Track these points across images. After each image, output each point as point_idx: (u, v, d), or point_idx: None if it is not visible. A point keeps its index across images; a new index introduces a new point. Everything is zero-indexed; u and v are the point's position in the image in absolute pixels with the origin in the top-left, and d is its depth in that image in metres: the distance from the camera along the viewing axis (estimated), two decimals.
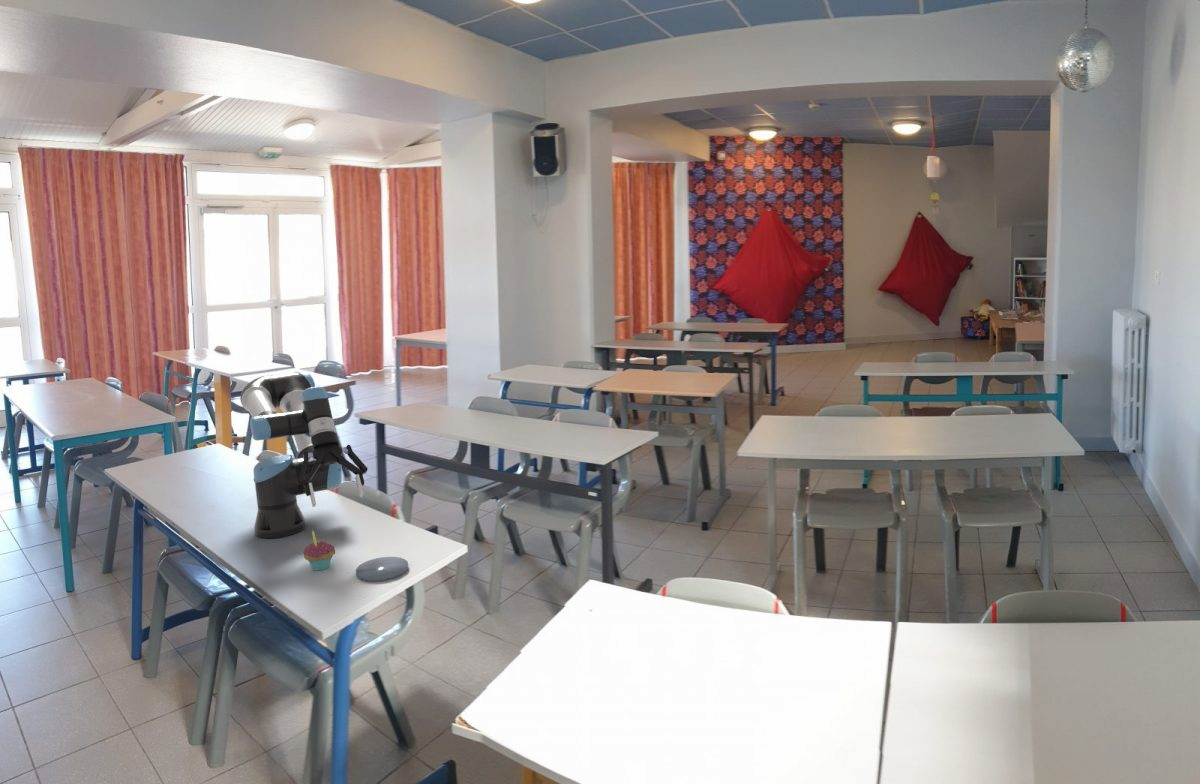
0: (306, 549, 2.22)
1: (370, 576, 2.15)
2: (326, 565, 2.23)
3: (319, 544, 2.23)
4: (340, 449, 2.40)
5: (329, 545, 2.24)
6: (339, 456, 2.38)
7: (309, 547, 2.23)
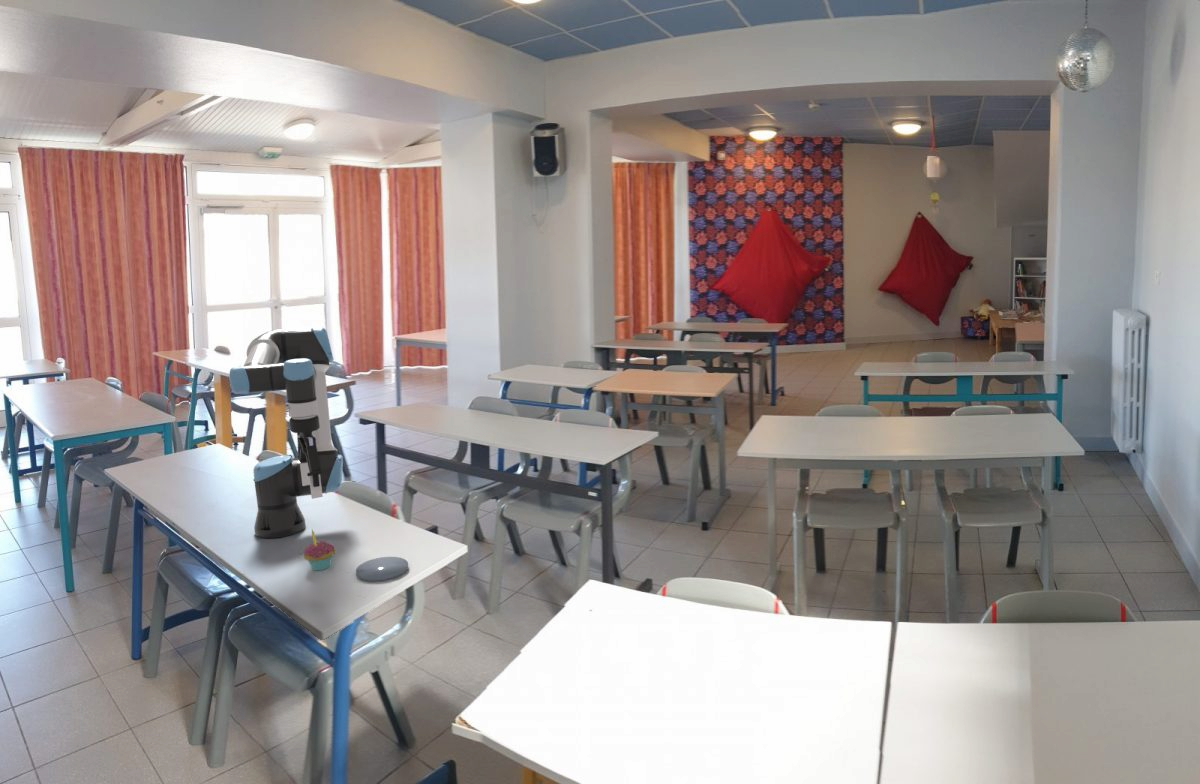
0: (306, 549, 2.22)
1: (370, 576, 2.15)
2: (326, 565, 2.23)
3: (319, 544, 2.23)
4: (304, 440, 2.14)
5: (329, 545, 2.24)
6: (302, 448, 2.15)
7: (309, 547, 2.23)
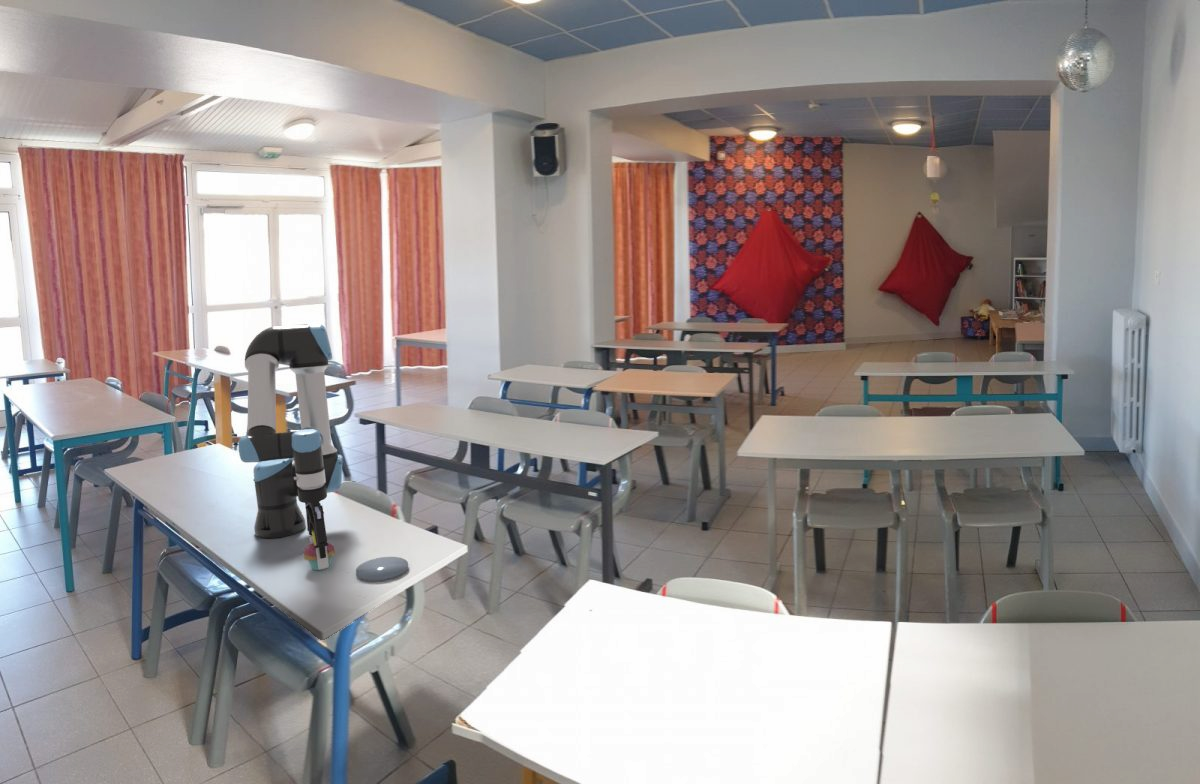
0: (306, 549, 2.23)
1: (370, 576, 2.15)
2: None
3: None
4: (312, 510, 2.18)
5: (329, 545, 2.24)
6: (310, 518, 2.19)
7: (309, 547, 2.23)
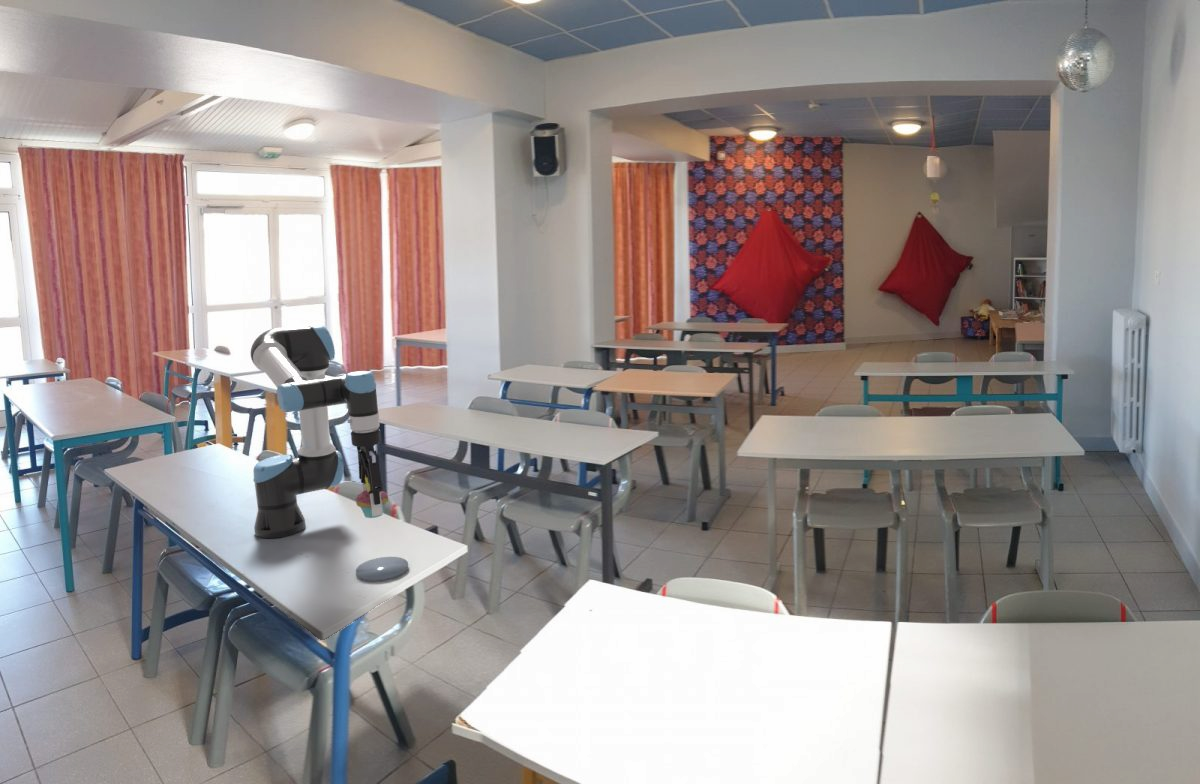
0: (359, 496, 2.15)
1: (370, 576, 2.15)
2: None
3: None
4: (366, 455, 2.10)
5: (382, 492, 2.17)
6: (363, 463, 2.12)
7: (362, 494, 2.15)
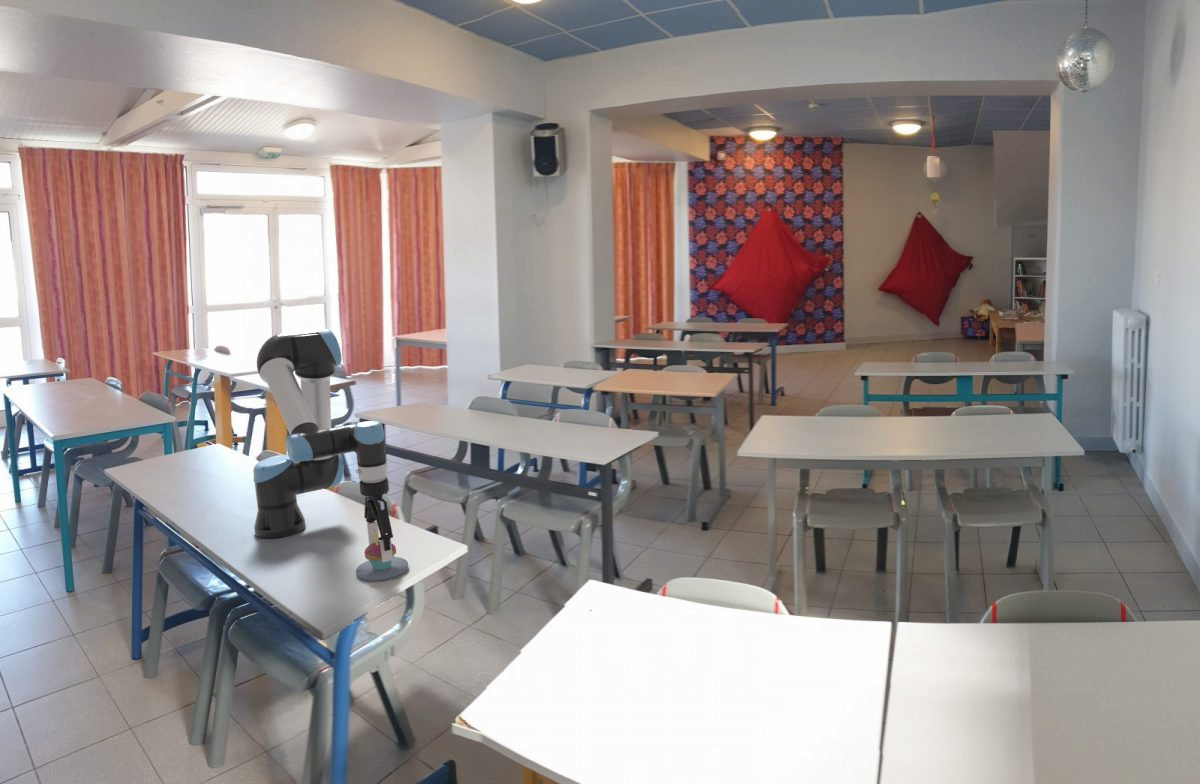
0: (367, 549, 2.18)
1: (370, 576, 2.15)
2: (387, 565, 2.19)
3: None
4: (375, 503, 2.13)
5: None
6: (372, 512, 2.14)
7: (370, 547, 2.18)
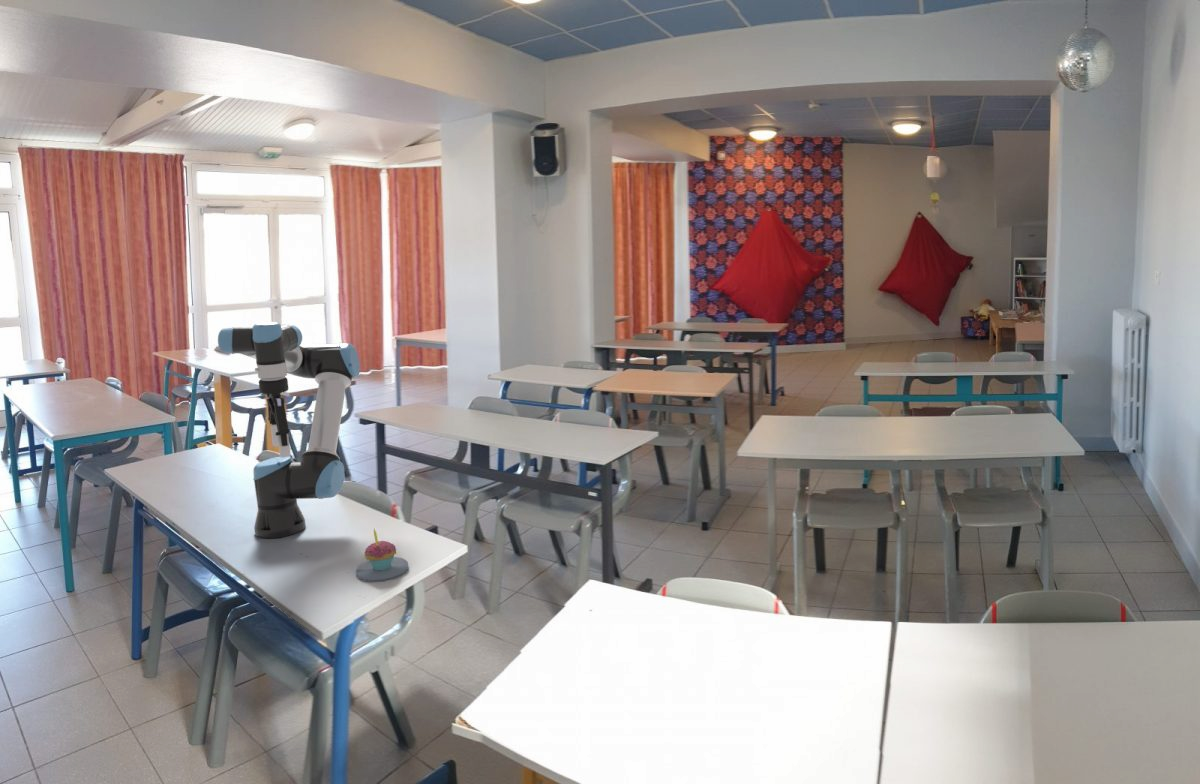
0: (367, 549, 2.18)
1: (370, 576, 2.15)
2: (387, 565, 2.19)
3: (380, 544, 2.19)
4: (273, 401, 2.21)
5: (390, 545, 2.20)
6: (271, 409, 2.22)
7: (370, 547, 2.18)
